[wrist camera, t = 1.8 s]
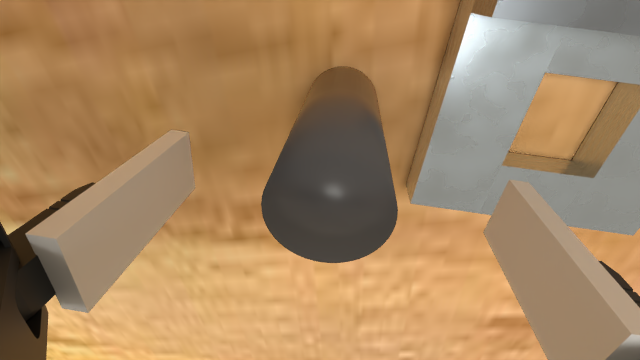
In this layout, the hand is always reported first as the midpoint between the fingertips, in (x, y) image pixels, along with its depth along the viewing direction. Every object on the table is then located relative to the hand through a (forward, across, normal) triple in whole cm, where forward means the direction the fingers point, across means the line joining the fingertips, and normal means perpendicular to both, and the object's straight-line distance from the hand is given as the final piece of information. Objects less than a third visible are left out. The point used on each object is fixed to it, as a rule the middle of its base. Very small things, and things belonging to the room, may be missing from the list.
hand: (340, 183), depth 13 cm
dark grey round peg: (+11, 0, 0) cm, 11 cm away
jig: (+11, +14, +1) cm, 17 cm away
